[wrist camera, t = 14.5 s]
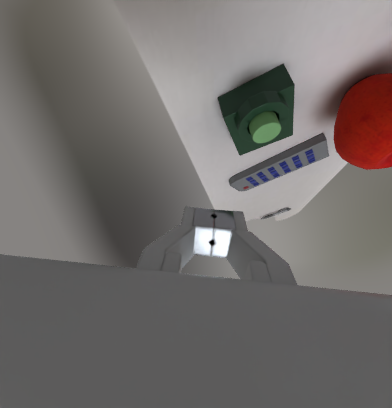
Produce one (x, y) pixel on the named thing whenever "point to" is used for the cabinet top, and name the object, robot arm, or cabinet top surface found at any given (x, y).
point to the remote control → (281, 164)
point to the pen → (277, 213)
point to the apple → (366, 123)
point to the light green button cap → (264, 127)
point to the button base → (259, 107)
